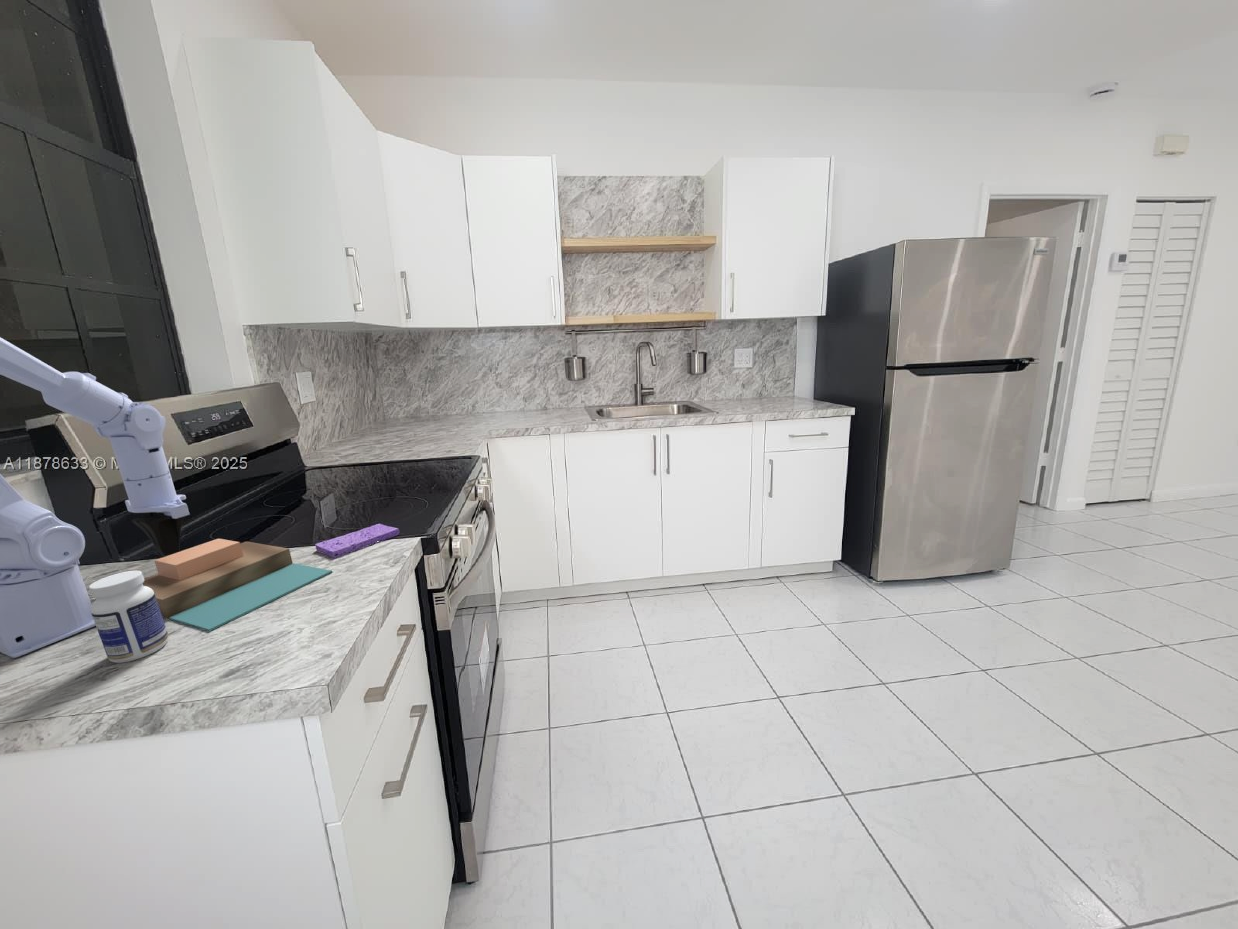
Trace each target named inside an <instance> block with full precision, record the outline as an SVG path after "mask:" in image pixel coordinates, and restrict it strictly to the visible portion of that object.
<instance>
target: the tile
mask: <svg viewBox="0 0 1238 929" xmlns="http://www.w3.org/2000/svg"><path fill="white" fill-rule="evenodd" d="M240 543H241V542H240V541H235V540H234V541H233V540H230V539H229V540H228V539H224V538H216V539H213V540H210V541H207V542H204V543H201V544H198V545H195V546H193V547H190V548H186V549H183V550H180V552H177V553H174V554H172V555H169V556H162V557H160V558H157V559H154V560H153V561H154V564H155V567H156V570H157V574H159V575H160V576H165V577H169V578H173V579H177V580H182V579H185V578H188V577H190V576H193V575H195V574H198V573H201V572H203V571H206V570H208V569H211V568H214V567H216V566H219V565H221V564H224V563H227V562H229V561H232V560H234V559H237V558H240V557H242V556H243V553H242V549H241V545H240Z"/></svg>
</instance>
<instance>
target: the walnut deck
mask: <svg viewBox="0 0 1238 929" xmlns="http://www.w3.org/2000/svg"><path fill="white" fill-rule="evenodd" d="M240 545H241V549H242V553H243V556H242V557H240V558H237V559H234V560H232V561H229V562H227V563H224V564H221V565H219V566H216V567H214V568H211V569H208V570H206V571H203V572H201V573H198V574H195V575H193V576H190V577H188V578H185V579H182V580H177V579H173V578H169V577H165V576H160V575H159V574H158V573H156V574H153V575H150V576H147V577H144V582H143V586H147V587H149V588H151V589H152V590H153V591H154V593H155V597H156V600H157V603H158V606H159V609H160V612H161V615H162V618H164V619H167V620H170V619H169V617H171V616H173V615H176V614H178V613H180V612H183V611H185V610H187V609H190V608H192V607H194V606H196V605H199V604H201V603H203V602H206V601H208V600H210V599H213V598H215V597H217V596H220V595H222V594H224V593H226V592H229V591H231V590H233V589H236V588H238V587H240V586H243V585H245V584H247V583H250V582H252V581H254V580H257V579H259V578H261V577H263V576H266V575H268V574H270V573H273V572H275V571H277V570H280V569H282V568H284V567H287V566H289V565H291V564H293V559H292V554H291V551H290V548H289V547H288V548H287V547H281V546H276V545H270V544H269V545H268V544H263V543H257V542H254V541H253V542H252V541H243V542H240Z"/></svg>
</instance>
